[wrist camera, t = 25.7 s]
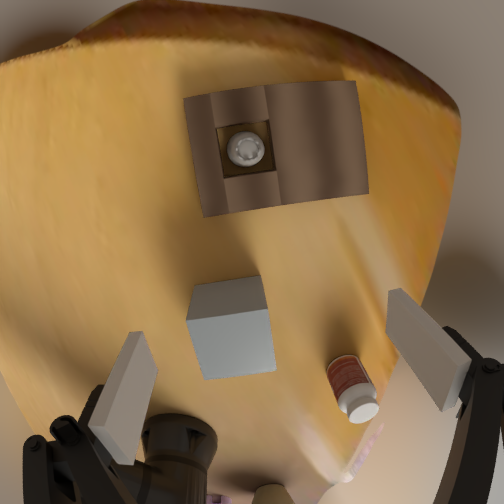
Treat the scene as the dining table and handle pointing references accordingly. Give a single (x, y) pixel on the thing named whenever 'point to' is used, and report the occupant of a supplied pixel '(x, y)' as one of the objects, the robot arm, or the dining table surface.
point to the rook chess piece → (245, 149)
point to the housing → (231, 328)
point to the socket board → (281, 145)
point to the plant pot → (272, 495)
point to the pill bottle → (353, 388)
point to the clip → (224, 500)
